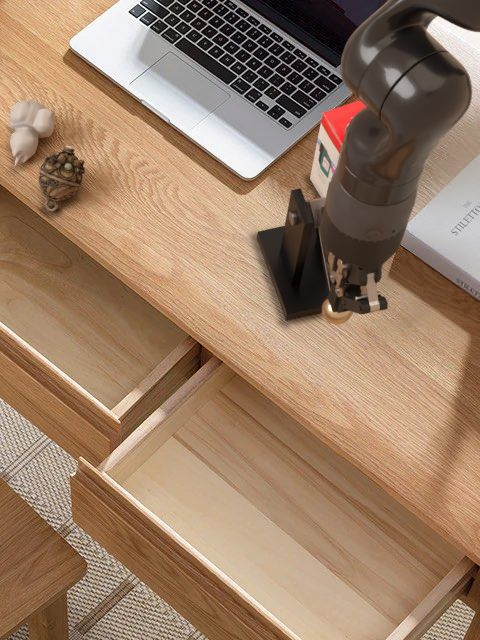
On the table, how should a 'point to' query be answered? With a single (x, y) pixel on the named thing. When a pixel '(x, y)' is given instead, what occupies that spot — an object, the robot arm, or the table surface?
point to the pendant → (60, 175)
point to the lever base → (295, 261)
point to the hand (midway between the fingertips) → (339, 304)
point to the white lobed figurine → (29, 127)
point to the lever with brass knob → (325, 264)
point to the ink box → (331, 144)
